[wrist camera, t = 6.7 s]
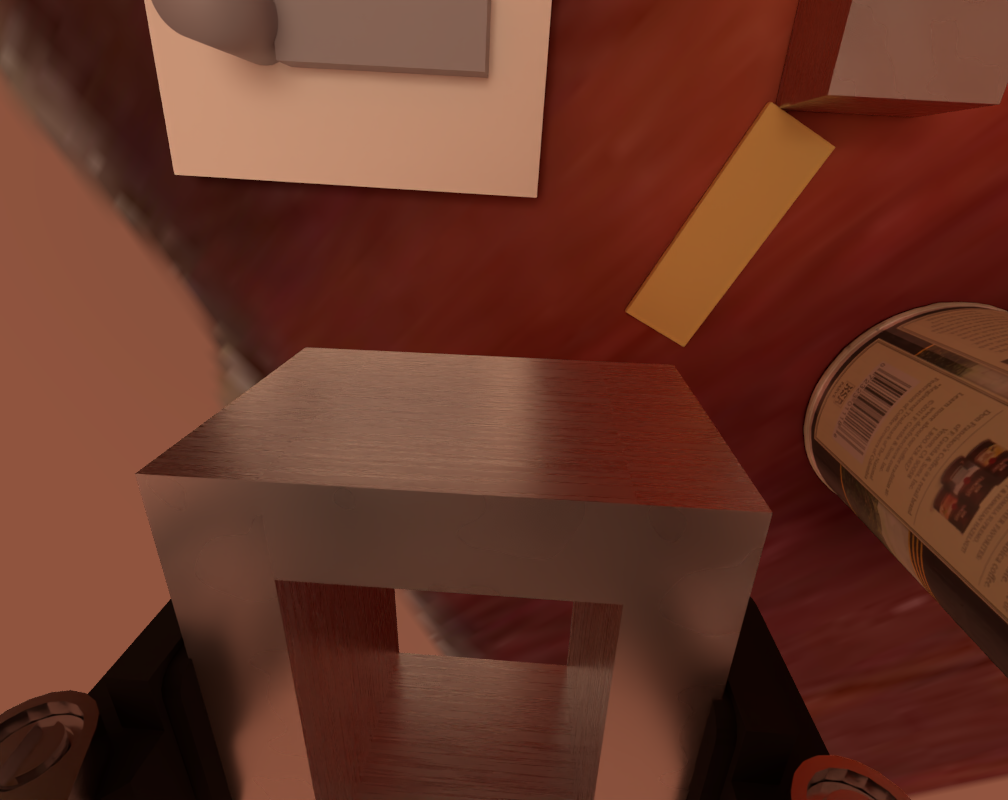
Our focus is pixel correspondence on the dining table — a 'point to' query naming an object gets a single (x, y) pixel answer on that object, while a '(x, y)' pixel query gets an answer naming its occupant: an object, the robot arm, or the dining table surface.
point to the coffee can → (927, 453)
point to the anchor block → (896, 57)
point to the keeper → (356, 91)
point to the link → (456, 574)
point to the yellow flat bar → (729, 223)
